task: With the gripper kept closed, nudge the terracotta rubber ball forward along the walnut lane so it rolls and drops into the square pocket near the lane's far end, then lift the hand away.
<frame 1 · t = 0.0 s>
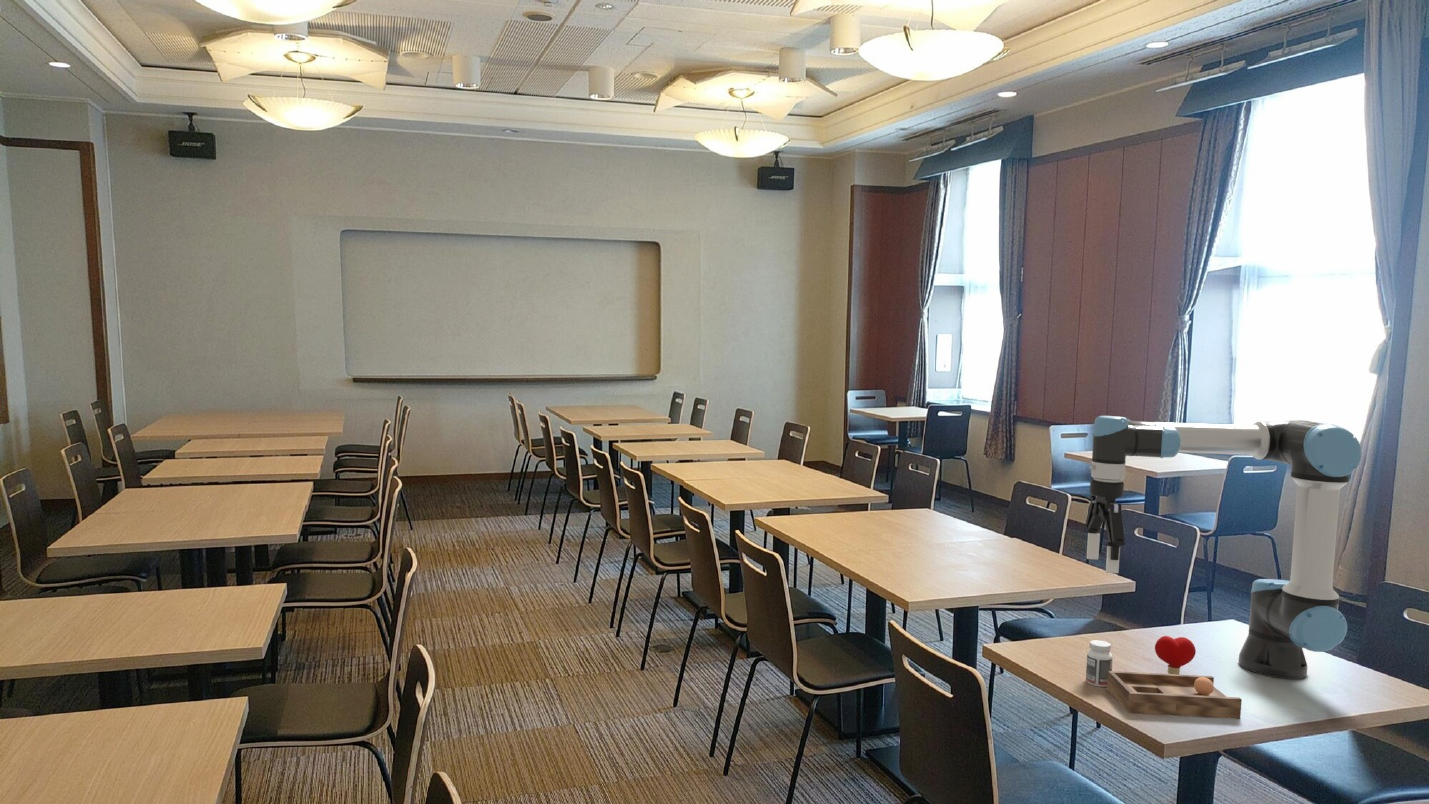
hand: (1101, 565, 226), 28 cm above the table, fingers open, 13 cm apart
lane: (1171, 703, 213), on the table
red heart-shaped lump: (1173, 677, 230), on the table
ball: (1203, 694, 212), point 2 cm above the table, touching lane
pill bottle: (1098, 684, 224), on the table
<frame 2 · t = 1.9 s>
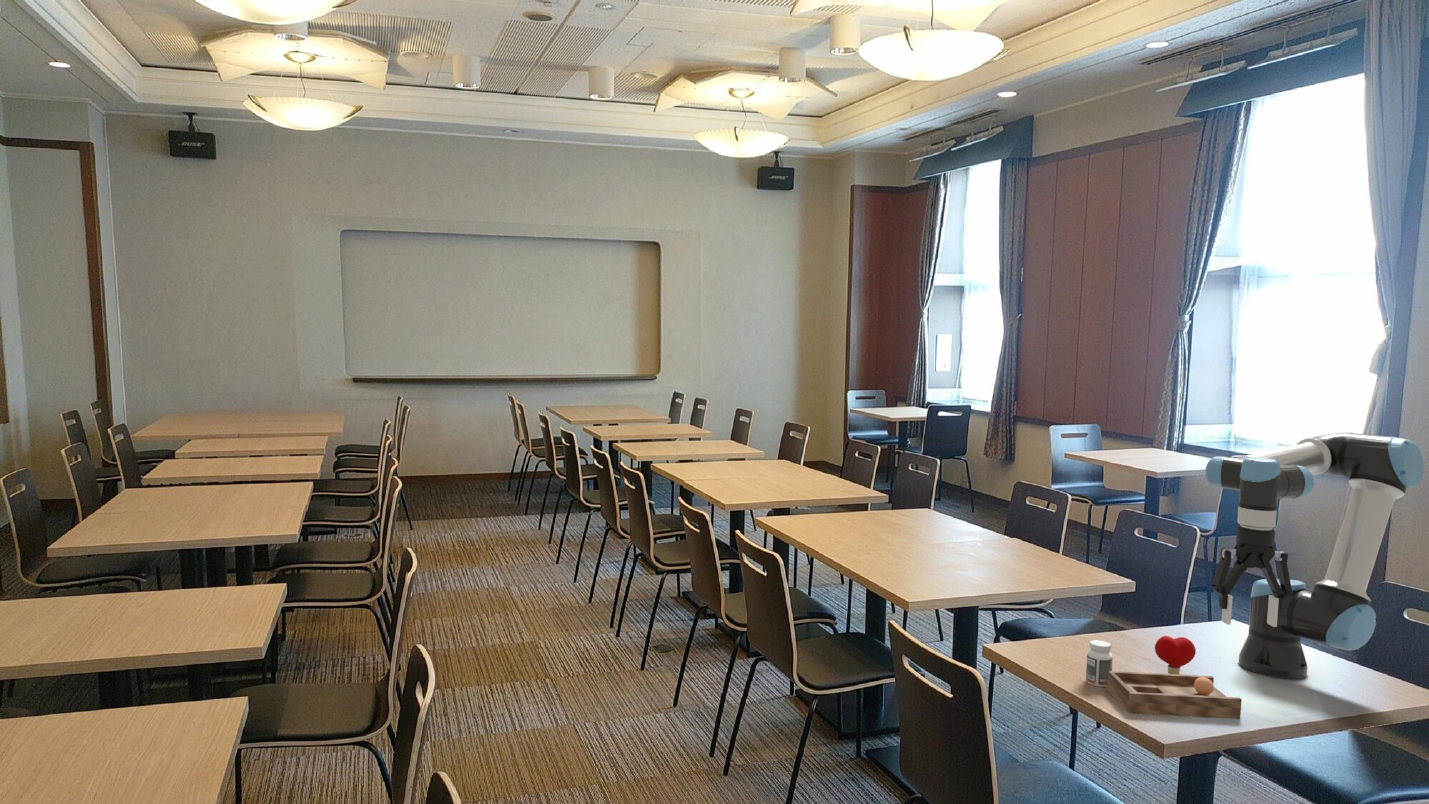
hand: (1248, 623, 210), 20 cm above the table, fingers open, 9 cm apart
nothing on the table moved.
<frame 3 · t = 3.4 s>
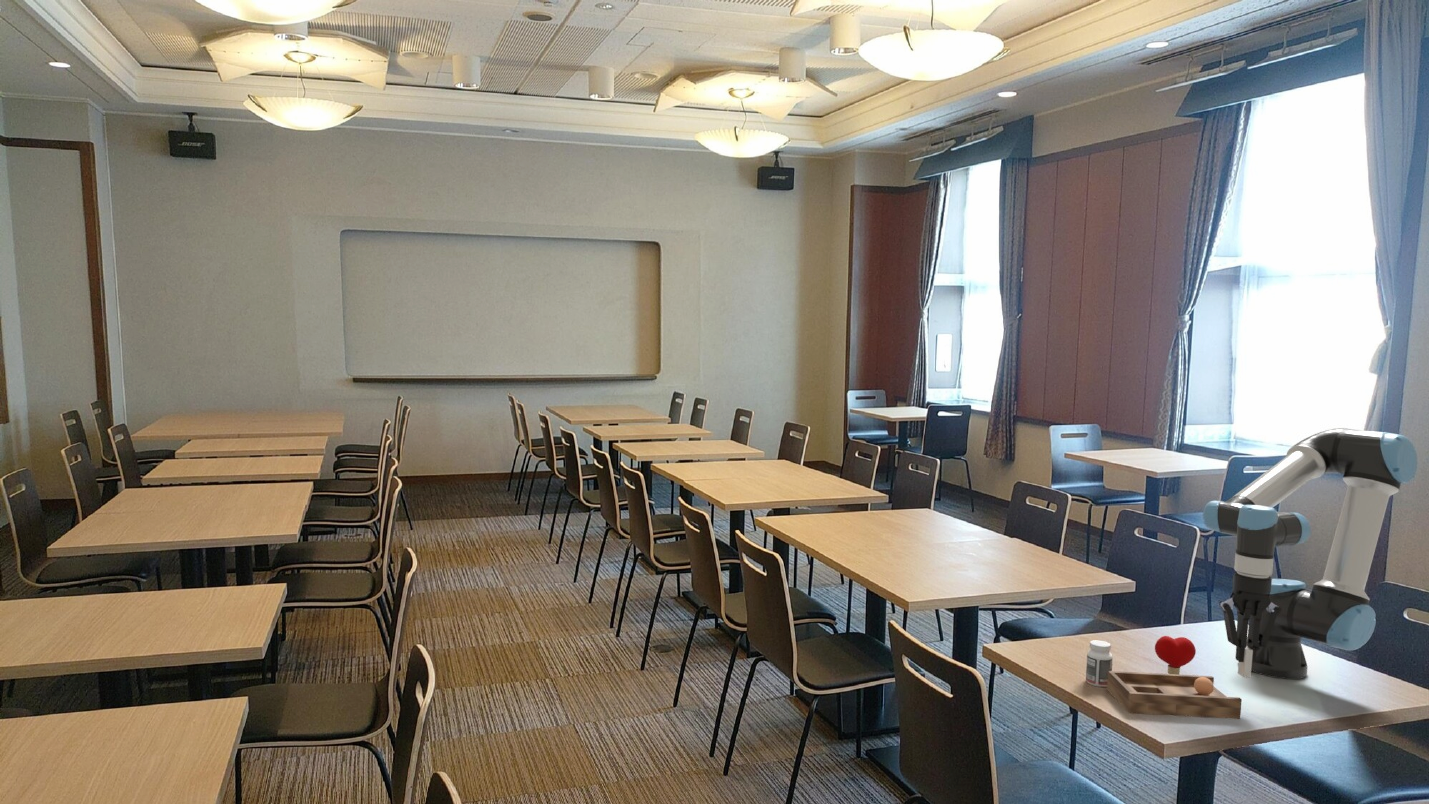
hand: (1244, 675, 211), 8 cm above the table, fingers closed
nothing on the table moved.
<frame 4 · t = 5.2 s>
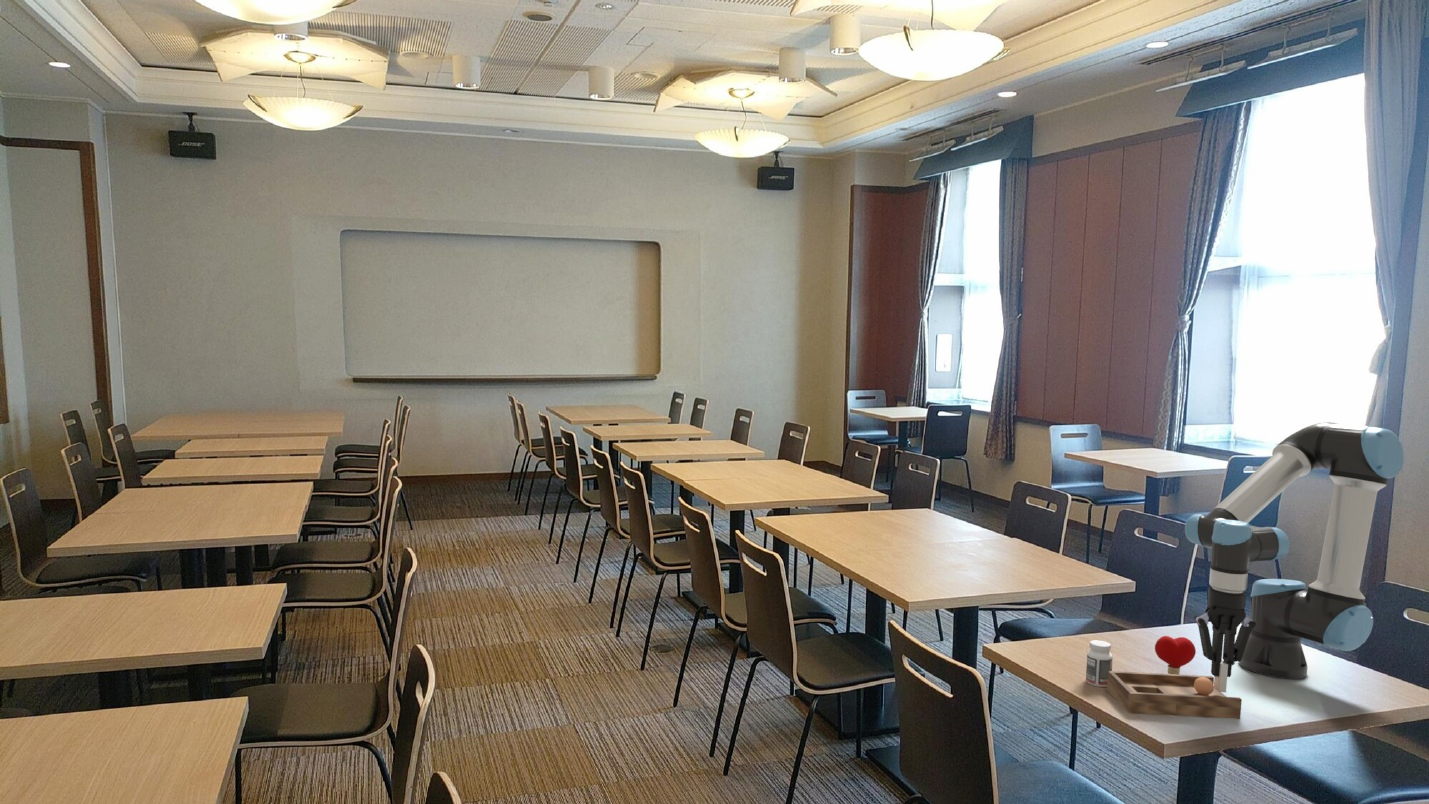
hand: (1219, 689, 212), 4 cm above the table, fingers closed
nothing on the table moved.
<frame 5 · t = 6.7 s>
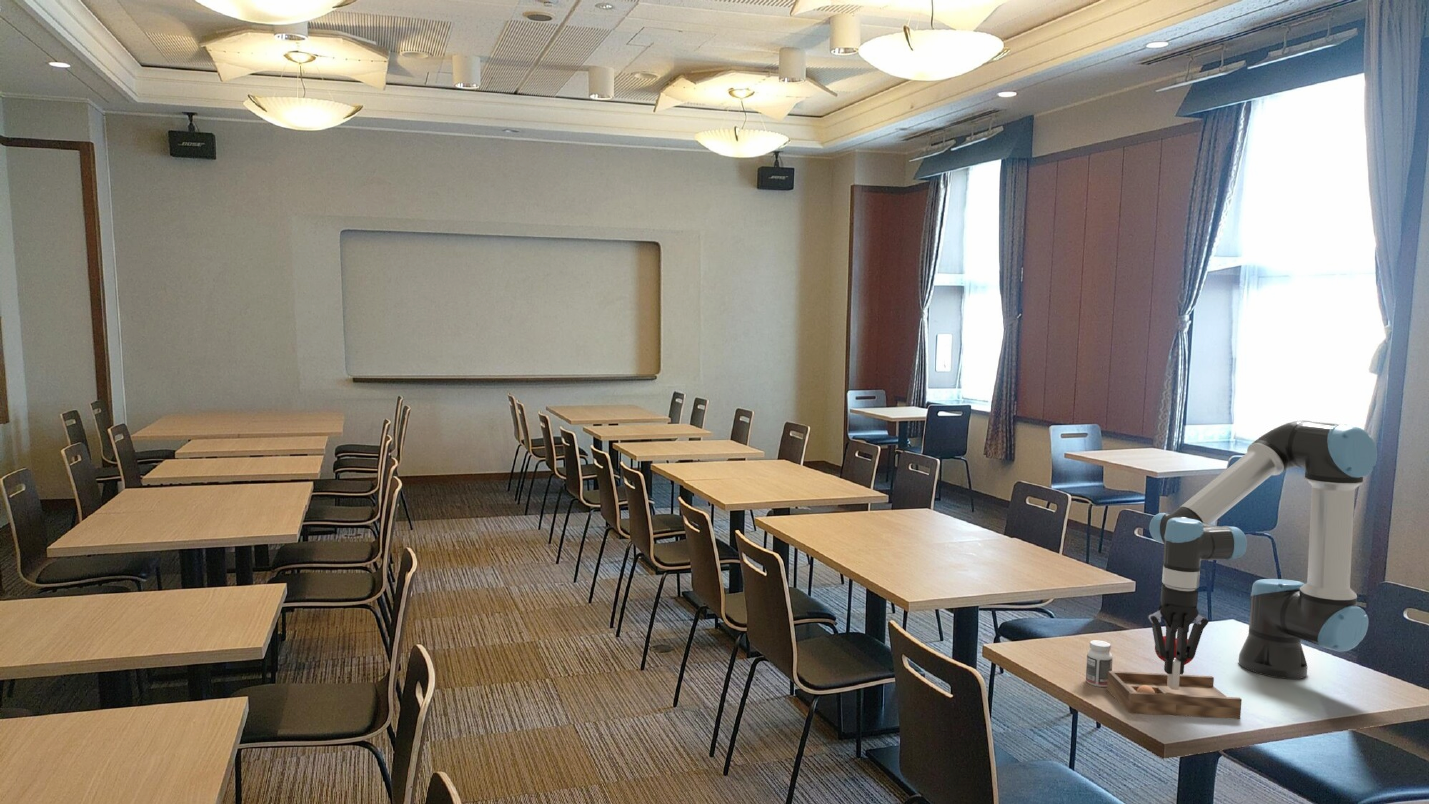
hand: (1172, 687, 212), 4 cm above the table, fingers closed
ball: (1149, 701, 213), resting in lane, tilted 31°
everything else where it was.
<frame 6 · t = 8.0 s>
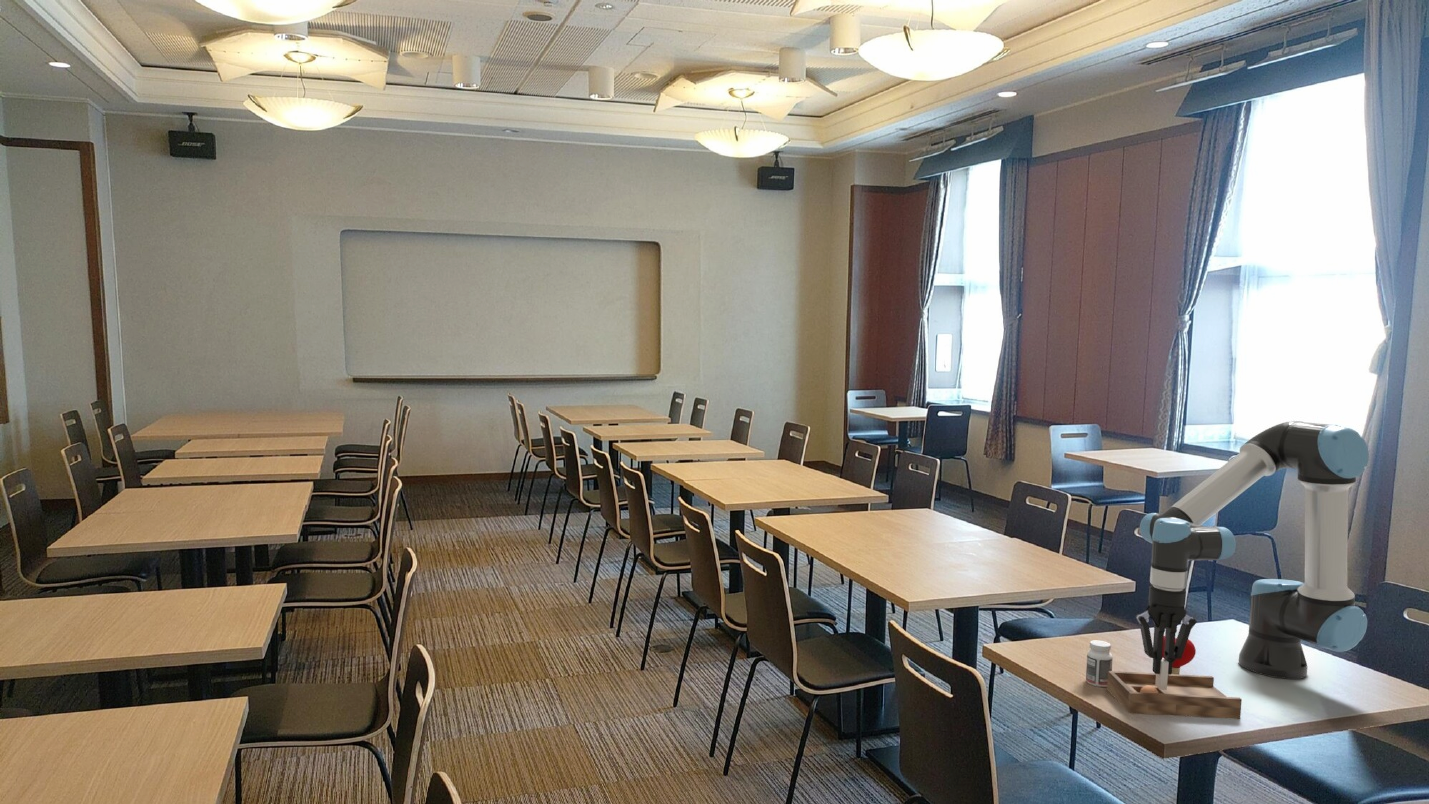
hand: (1161, 687, 213), 4 cm above the table, fingers closed
ball: (1150, 702, 213), resting in lane, tilted 8°
everything else where it was.
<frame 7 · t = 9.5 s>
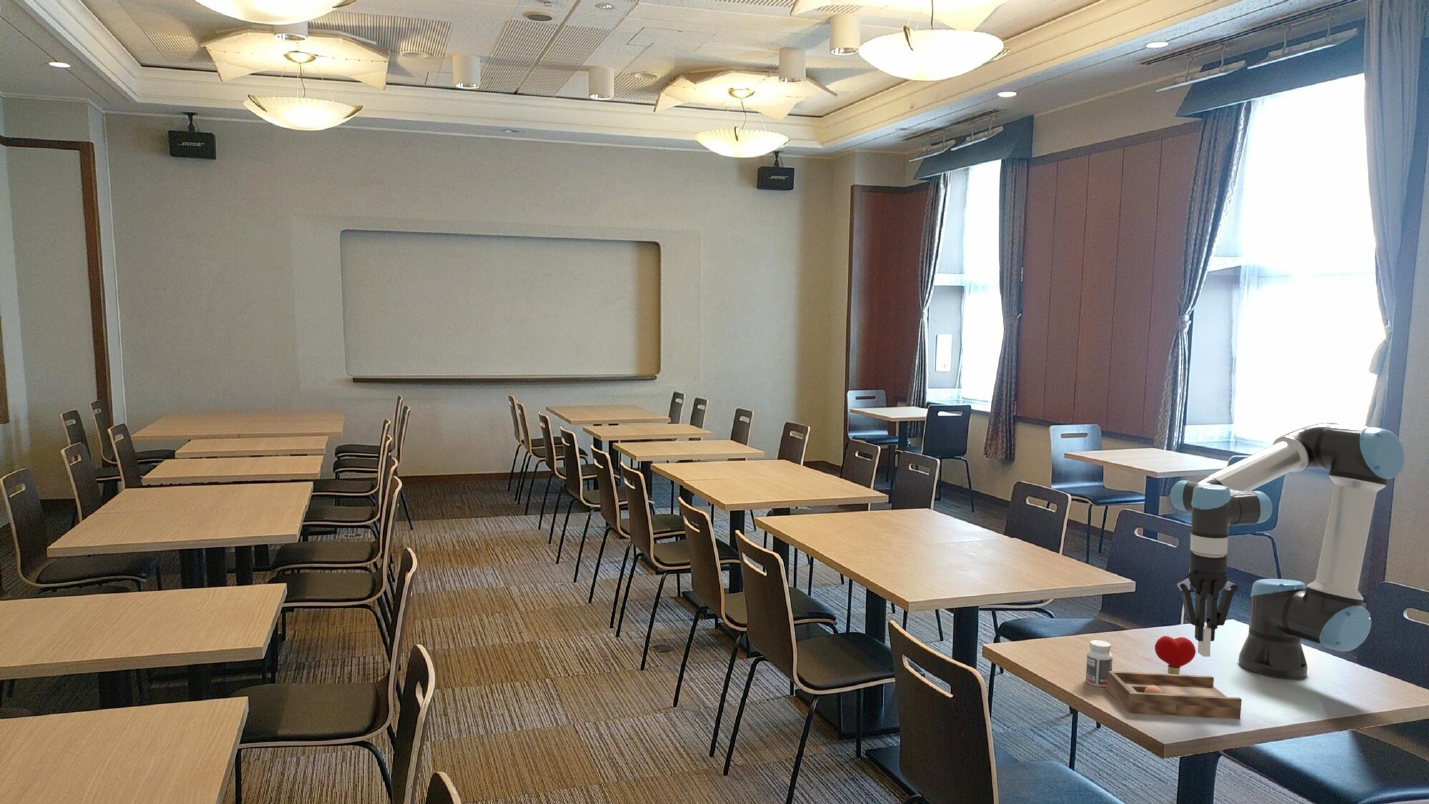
hand: (1203, 654, 212), 12 cm above the table, fingers closed
ball: (1150, 702, 213), resting in lane, tilted 19°
everything else where it was.
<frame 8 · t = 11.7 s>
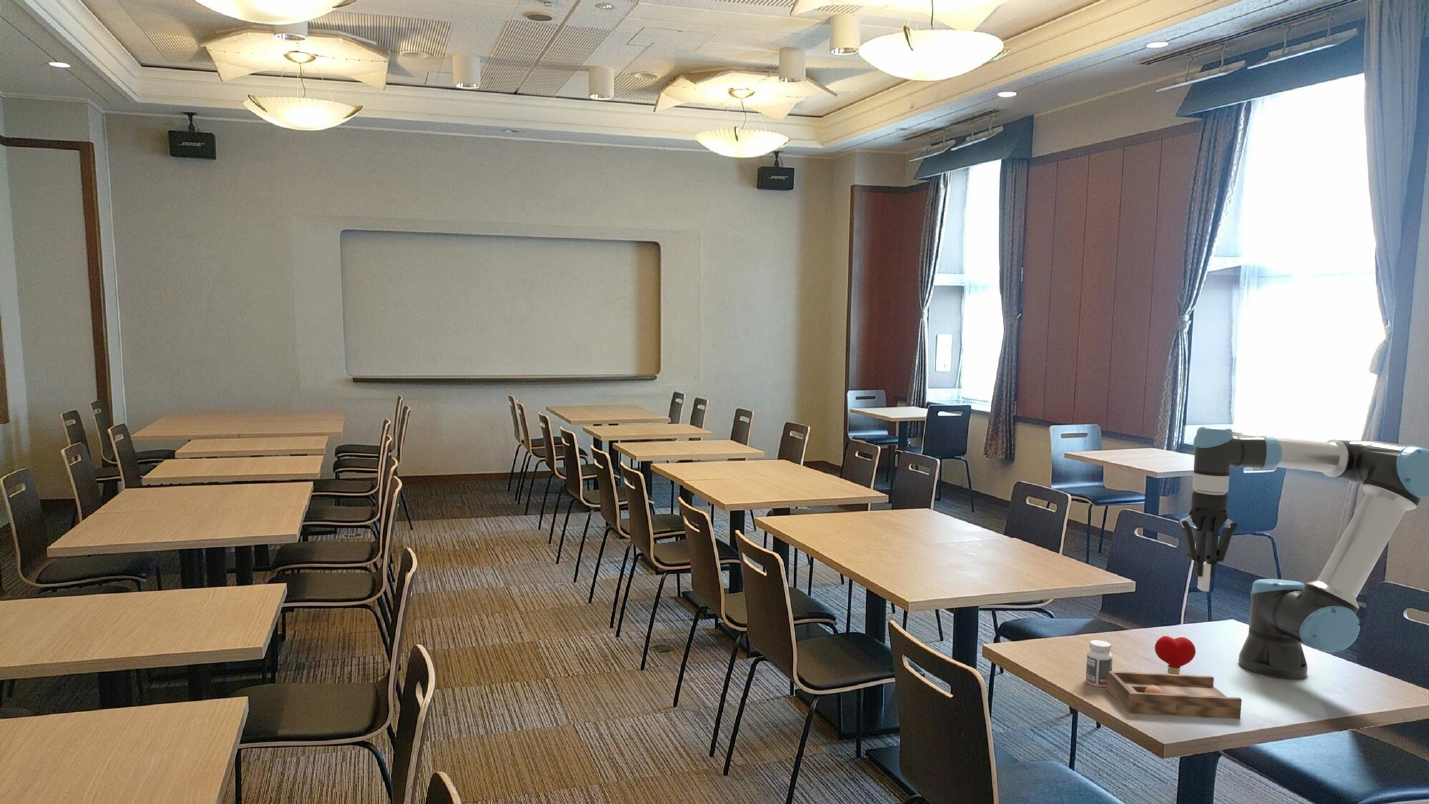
hand: (1203, 589, 220), 24 cm above the table, fingers closed
nothing on the table moved.
at the end: ball 0.4 cm from the target spot on the lane, point 0.1 cm above the lane's base; ball resting in lane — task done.
